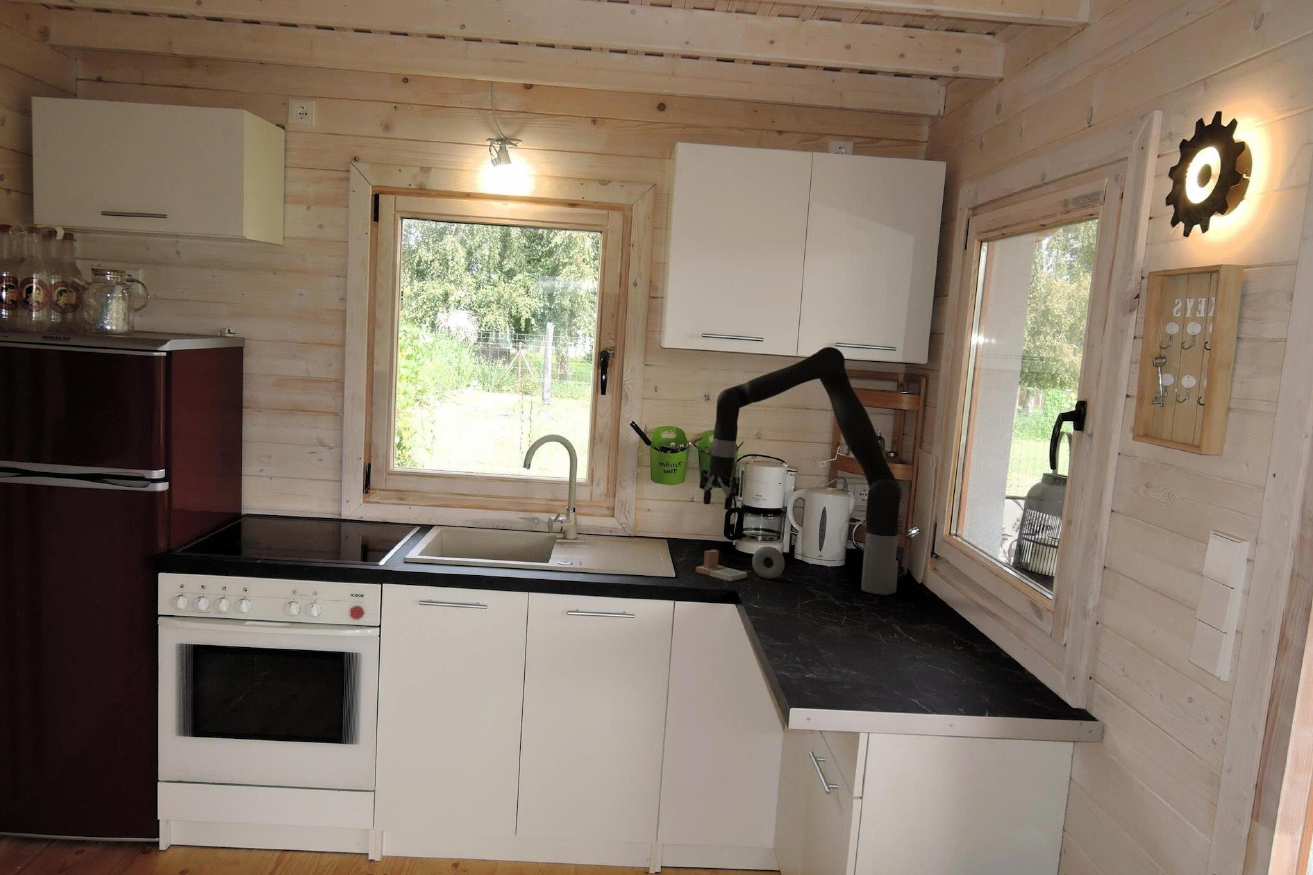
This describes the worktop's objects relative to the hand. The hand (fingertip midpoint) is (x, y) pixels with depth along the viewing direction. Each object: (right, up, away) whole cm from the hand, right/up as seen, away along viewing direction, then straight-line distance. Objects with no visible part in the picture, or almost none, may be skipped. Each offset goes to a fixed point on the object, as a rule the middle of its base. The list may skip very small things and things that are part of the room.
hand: (716, 506), depth 282 cm
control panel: (+3, -21, -2) cm, 21 cm away
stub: (-2, -20, +2) cm, 20 cm away
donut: (+15, -22, -2) cm, 27 cm away
